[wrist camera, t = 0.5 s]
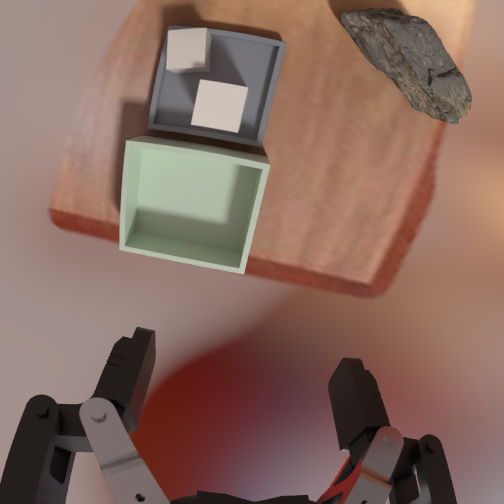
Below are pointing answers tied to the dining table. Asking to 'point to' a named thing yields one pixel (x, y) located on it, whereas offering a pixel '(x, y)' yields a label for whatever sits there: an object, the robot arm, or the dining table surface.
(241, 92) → the off-white rectangular block
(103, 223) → the dining table surface
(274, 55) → the slate tray
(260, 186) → the green bin
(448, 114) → the rock
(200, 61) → the smooth off-white cube
